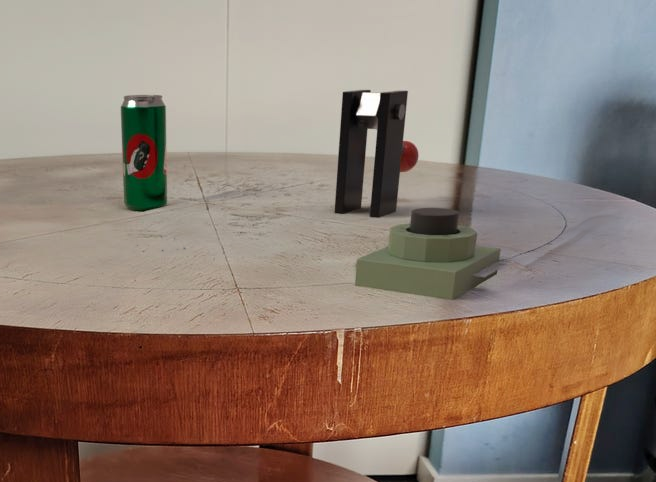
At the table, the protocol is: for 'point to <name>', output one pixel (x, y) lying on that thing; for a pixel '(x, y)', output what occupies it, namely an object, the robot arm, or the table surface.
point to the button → (434, 221)
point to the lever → (369, 120)
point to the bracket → (385, 154)
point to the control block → (427, 263)
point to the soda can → (144, 152)
